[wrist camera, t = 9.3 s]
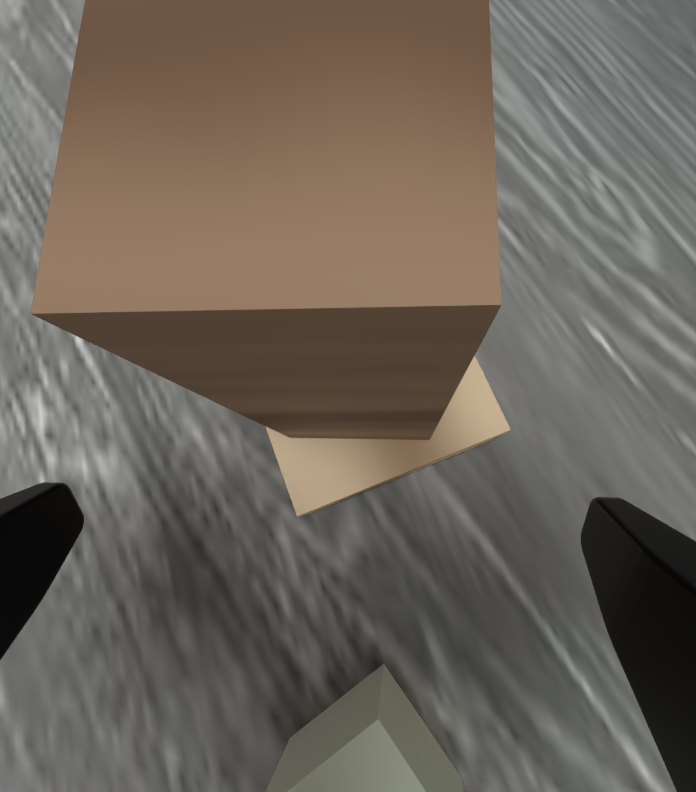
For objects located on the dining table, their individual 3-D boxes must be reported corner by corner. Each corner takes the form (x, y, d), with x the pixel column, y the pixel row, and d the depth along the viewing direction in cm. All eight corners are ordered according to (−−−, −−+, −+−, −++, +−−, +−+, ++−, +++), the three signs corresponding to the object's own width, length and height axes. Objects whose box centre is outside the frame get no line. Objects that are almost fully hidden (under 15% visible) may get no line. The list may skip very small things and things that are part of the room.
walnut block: (429, 439, 16) (501, 305, 4) (289, 437, 17) (29, 313, 5) (428, 305, 17) (484, -92, 5) (296, 308, 18) (92, -46, 6)
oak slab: (313, 512, 19) (297, 516, 16) (251, 343, 21) (227, 319, 18) (494, 439, 19) (510, 429, 16) (415, 274, 21) (417, 238, 18)
